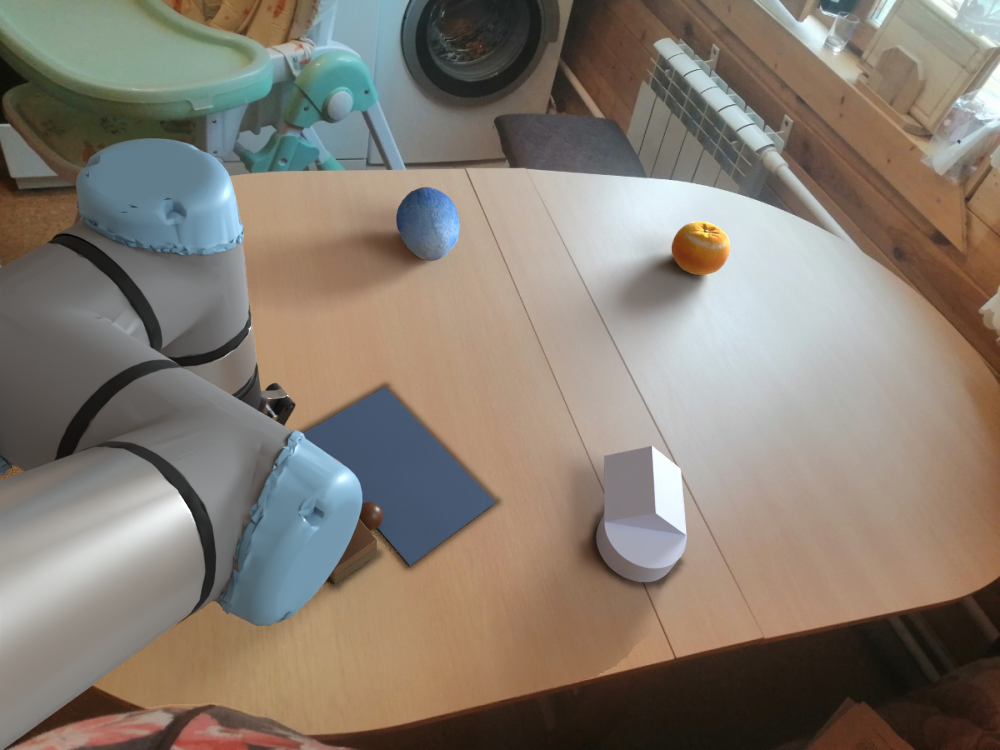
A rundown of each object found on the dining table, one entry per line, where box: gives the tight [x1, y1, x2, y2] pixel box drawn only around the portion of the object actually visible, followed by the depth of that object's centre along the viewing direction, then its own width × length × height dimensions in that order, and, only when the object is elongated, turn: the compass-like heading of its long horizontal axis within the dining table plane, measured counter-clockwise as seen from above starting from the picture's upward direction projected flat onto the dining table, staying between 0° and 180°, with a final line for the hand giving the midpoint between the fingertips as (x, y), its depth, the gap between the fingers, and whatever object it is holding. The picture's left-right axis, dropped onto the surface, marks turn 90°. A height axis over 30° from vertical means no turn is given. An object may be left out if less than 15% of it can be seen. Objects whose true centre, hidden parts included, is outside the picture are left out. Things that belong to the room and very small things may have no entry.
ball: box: [359, 502, 383, 532], centre depth 75 cm, size 3×3×3 cm
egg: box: [395, 184, 461, 262], centre depth 103 cm, size 9×9×15 cm
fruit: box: [671, 221, 731, 276], centre depth 110 cm, size 8×8×8 cm
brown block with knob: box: [328, 519, 378, 585], centre depth 73 cm, size 5×14×5 cm, turn 43°
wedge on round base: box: [595, 445, 688, 583], centre depth 78 cm, size 9×7×13 cm
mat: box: [302, 386, 496, 567], centre depth 81 cm, size 12×20×1 cm, turn 43°
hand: (235, 537), depth 66 cm, fingers closed
